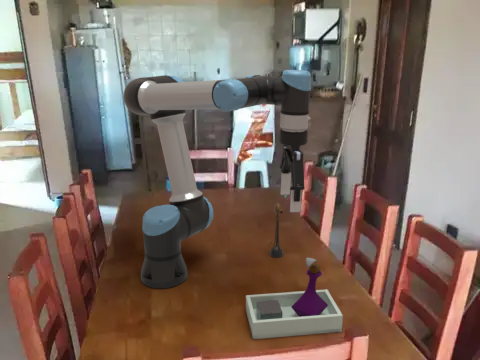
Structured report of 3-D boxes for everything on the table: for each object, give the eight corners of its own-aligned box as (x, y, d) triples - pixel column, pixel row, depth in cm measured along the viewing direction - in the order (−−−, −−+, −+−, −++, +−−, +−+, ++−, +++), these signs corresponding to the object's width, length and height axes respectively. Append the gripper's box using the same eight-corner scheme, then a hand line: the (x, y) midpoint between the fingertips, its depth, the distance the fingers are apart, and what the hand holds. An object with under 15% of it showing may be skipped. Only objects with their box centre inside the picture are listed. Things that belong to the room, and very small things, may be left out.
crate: (252, 339, 114) (253, 322, 113) (245, 310, 127) (245, 295, 125) (341, 331, 117) (342, 315, 116) (326, 304, 130) (327, 289, 128)
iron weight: (260, 327, 118) (260, 314, 116) (256, 313, 123) (256, 301, 122) (282, 325, 118) (282, 312, 117) (277, 312, 124) (277, 299, 123)
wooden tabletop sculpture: (285, 258, 157) (287, 206, 151) (273, 260, 156) (274, 207, 150) (280, 251, 163) (281, 200, 157) (268, 252, 162) (269, 201, 156)
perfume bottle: (304, 305, 127) (307, 249, 122) (327, 314, 123) (331, 256, 117) (290, 317, 122) (292, 258, 116) (314, 327, 117) (317, 267, 112)
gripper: (320, 139, 107) (314, 219, 114) (297, 120, 131) (293, 187, 137) (289, 139, 106) (285, 220, 113) (272, 120, 130) (269, 188, 137)
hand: (289, 202), depth 125 cm, fingers open, 13 cm apart
